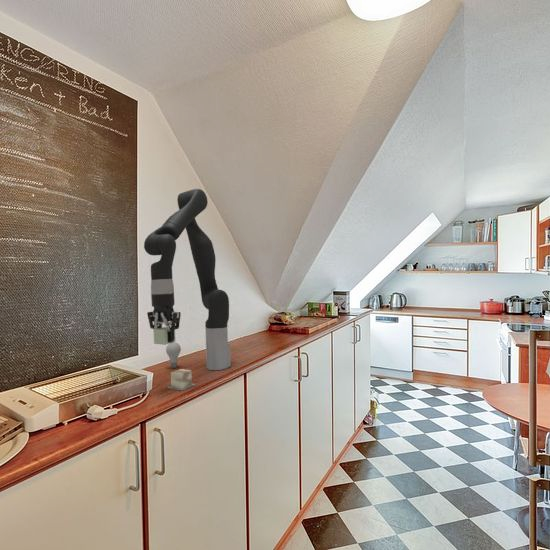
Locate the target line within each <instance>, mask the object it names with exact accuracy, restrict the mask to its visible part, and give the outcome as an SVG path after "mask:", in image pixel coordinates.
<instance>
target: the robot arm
mask: <svg viewBox="0 0 550 550" xmlns="http://www.w3.org/2000/svg"><path fill="white" fill-rule="evenodd" d="M177 205H178V210H177V211H175V212H174V213H173V214H171V215H170V216H169V217H168V218H167V219H166V220H165V221H164V223H163V224H162V225H161V226H160V227H158V228H157V229H155V230H154V231H152V232H151V233H150V234H149V235H147V236H146V238H145V240H144V242H143V243H144V244H143V248H144V250H145V252H146V254H147V255H150V256H160V259H159V261H155V262H153V263H151V265H150V295H151V297H150V300H151V307H153V310H152V311H147V314H146V315H147V320H148V323H149V328H150V329H151V330H153V329H157V328H162V327H163V324H164V327H167V330H168V332H167V335H168V342H173V341H174V330H175V331H176V330H178V329H179V328H180V322H181V315H182V314H181V312H180V311H175V309H174V306H175V288H174V287H175V286H174V279H173V265H174V264H173V263H174V259H175V255H176V252H177V243H176V242H177V241H176V240H178V239H179V238H180V236H181V234H182V233H183V232H184V230H186V234H187V238H188V242H189V245H190V251H191V255H192V260H193V263H194V267H195V270H196V271H195V272H196V274H197V278H198V281H199V289H200V294H201V295H200V298H201V302H202V304H203V306H204V308H205V309H206V310H207V311H208V316H207V319H206V320H205V323H204V324H205V325H204V326H205V354H206V356H205V358H206V369H207V370H210V371H221V370H226V369H228V368H230V366H231V345H230V344H229V339H228V338H229V337H228V336H229V335H228V334H229V333H228V322H229V319H230V299H229V296H228V294H227V292H226V291H225V290H222V289H219V288H218V284H217V281H216V274H215V271H216V253H215V248H214V244H213V242H212V240H211V239H210V237H209V236H208V235H207V234H206V233H205V232H204V231H203V230H202V229H201V227H200V226H199V224H198V223H197V220H196V218H197V217H198V216H199V214H201V213H202V212H203V211H205V210H206V208H208V207H207V206H208V197H207V194H206V192H205V191H203V190H202V189H200V188H195V189H193V188H192V189H191V190H186V191H183V192H181V193H179V194H178V195H177ZM231 367H232V366H231Z"/></svg>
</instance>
